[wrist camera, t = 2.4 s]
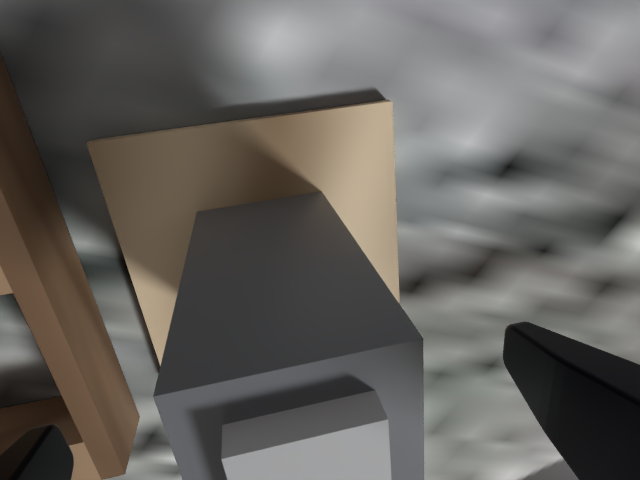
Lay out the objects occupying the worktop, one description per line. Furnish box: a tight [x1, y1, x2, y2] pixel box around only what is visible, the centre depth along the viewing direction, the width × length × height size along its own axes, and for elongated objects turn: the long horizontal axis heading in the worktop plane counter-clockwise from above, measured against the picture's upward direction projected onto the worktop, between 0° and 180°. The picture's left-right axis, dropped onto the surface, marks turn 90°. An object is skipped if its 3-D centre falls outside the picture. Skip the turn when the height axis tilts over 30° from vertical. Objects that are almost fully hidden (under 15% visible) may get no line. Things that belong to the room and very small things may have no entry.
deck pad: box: [86, 100, 399, 366], centre depth 14 cm, size 9×9×1 cm
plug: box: [153, 191, 424, 480], centre depth 10 cm, size 4×4×9 cm
